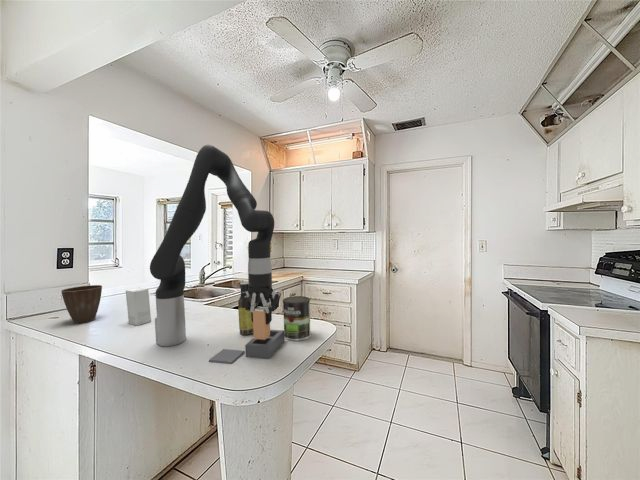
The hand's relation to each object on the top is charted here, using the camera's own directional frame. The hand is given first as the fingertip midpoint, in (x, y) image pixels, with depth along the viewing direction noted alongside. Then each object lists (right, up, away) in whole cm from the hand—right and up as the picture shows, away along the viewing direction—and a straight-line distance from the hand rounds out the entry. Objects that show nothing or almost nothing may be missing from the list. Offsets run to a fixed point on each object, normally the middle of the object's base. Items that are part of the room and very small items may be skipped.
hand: (261, 322), depth 92 cm
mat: (-11, -11, -2) cm, 15 cm away
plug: (0, -5, 0) cm, 5 cm away
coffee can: (+11, -9, +15) cm, 21 cm away
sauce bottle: (-10, -10, +20) cm, 24 cm away
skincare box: (-64, -11, +37) cm, 75 cm away
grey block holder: (+1, -10, +4) cm, 11 cm away
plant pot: (-94, -12, +42) cm, 103 cm away
